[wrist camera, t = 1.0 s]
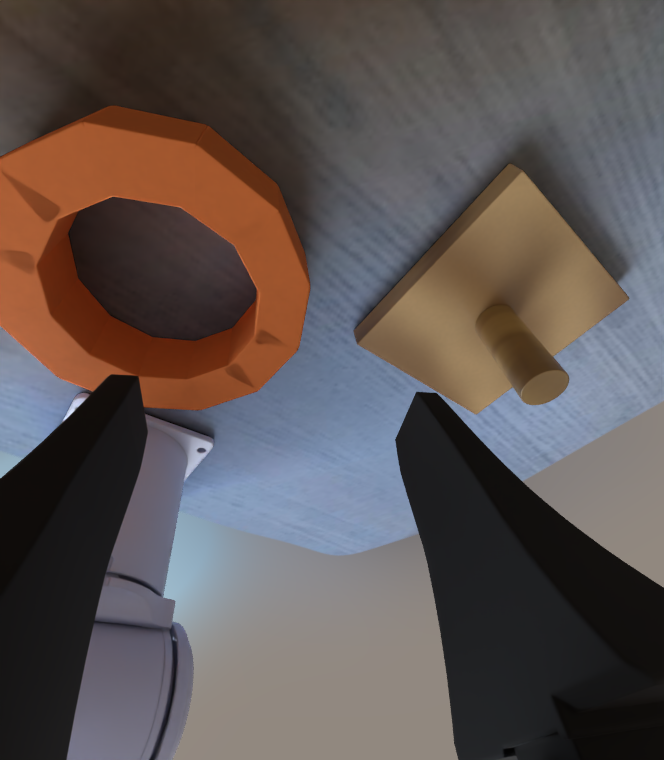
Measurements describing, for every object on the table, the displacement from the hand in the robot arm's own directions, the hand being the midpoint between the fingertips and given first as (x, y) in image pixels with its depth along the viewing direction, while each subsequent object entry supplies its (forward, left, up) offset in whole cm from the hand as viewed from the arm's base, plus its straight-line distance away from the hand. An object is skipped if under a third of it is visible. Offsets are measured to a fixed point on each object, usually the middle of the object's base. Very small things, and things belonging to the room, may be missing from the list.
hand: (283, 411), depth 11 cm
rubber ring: (-3, +4, -10) cm, 11 cm away
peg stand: (+4, -10, -10) cm, 15 cm away
